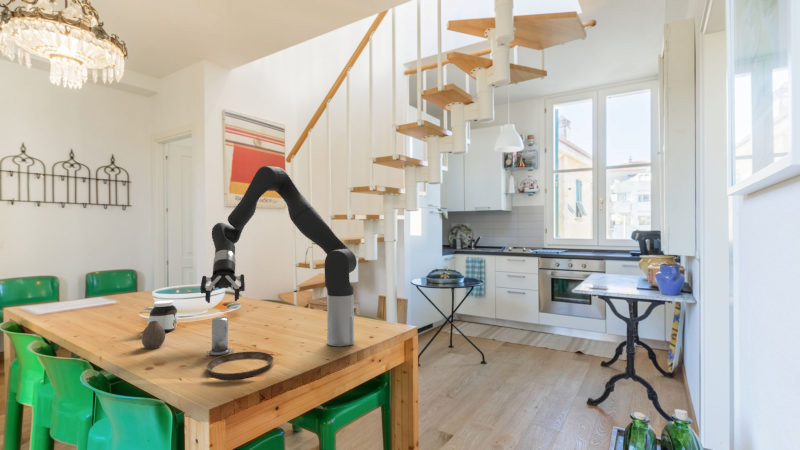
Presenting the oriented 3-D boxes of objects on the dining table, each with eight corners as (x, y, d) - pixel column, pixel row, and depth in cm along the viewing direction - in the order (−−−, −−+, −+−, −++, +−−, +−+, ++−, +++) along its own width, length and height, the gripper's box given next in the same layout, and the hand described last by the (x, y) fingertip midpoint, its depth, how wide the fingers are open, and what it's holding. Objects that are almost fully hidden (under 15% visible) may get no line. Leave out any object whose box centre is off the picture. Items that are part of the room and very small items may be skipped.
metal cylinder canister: (232, 350, 125) (232, 316, 125) (225, 356, 119) (225, 320, 119) (214, 350, 124) (214, 316, 125) (206, 356, 119) (206, 321, 119)
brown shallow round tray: (280, 375, 107) (280, 364, 107) (210, 389, 97) (210, 377, 97) (265, 357, 122) (265, 347, 122) (202, 368, 112) (202, 357, 112)
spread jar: (165, 334, 148) (165, 304, 148) (136, 334, 148) (136, 304, 148) (183, 326, 160) (183, 298, 160) (156, 326, 160) (156, 298, 160)
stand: (233, 351, 127) (233, 348, 127) (233, 358, 119) (233, 355, 119) (207, 354, 124) (207, 351, 124) (204, 362, 116) (204, 358, 116)
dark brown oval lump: (169, 345, 134) (169, 320, 134) (149, 351, 127) (149, 324, 127) (157, 343, 136) (157, 318, 137) (136, 348, 130) (137, 322, 130)
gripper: (202, 258, 138) (198, 295, 127) (244, 257, 143) (244, 293, 132) (203, 272, 143) (200, 308, 132) (245, 270, 148) (244, 305, 137)
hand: (222, 300), depth 132 cm, fingers open, 8 cm apart
